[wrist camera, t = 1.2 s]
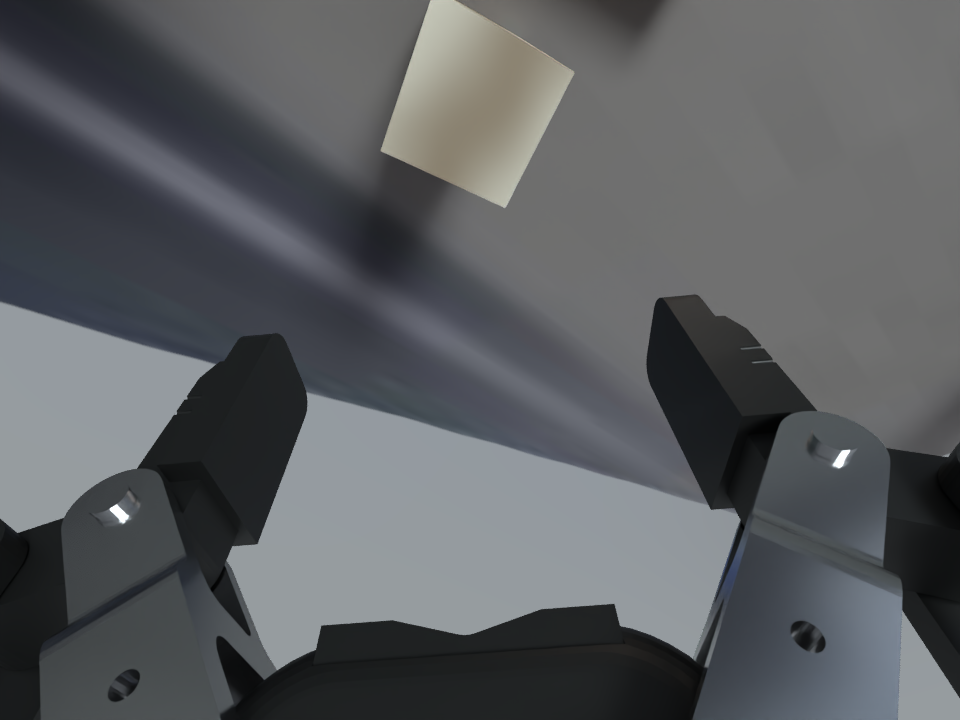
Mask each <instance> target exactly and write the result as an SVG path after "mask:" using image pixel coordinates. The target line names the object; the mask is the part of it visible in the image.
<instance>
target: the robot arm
mask: <svg viewBox="0 0 960 720" xmlns="http://www.w3.org/2000/svg"><path fill="white" fill-rule="evenodd" d="M647 374H648V379H649V382H650V385H651V387H652V389H653V391H654V393H655V395H656V398H657V400H658V402H659V404H660V406H661V408H662V410H663V412H664V414H665V416H666V418H667V420H668V422H669V424H670V426H671V428H672V430H673V433H674V435H675V437H676V439H677V441H678V443H679V445H680V447H681V449H682V451H683V453H684V455H685V457H686V459H687V461H688V463H689V465H690V468H691V470H692V472H693V474H694V476H695V478H696V480H697V482H698V484H699V486H700V488H701V490H702V492H703V494H704V496H705V498H706V500H707V503H708V505H709V507H710V509H711V510H713V509H726V508H735V510H736V512H737V514H738V516H739V518H740V519H741V521H740V523H739V525H738V528H737V530H736V533H735V537H734V539H733V543H732V546H731V549H730V552H729V555H728V558H727V561H726V564H725V567H724V570H723V573H722V576H721V579H720V582H719V585H718V588H717V592H716V595H715V597H714V601H713V604H712V607H711V610H710V613H709V615H708V618H707V621H706V624H705V627H704V629H703V632H702V635H701V637H700V640H699V643H698V645H697V648H696V651H695V654H694V657H693V659H692V658H691V657H690V656H688V655H687V654H685V653H683V652H682V651H680V650H679V649H677V648H675V647H674V646H672V645H670V644H668V643H666V642H664V641H662V640H660V639H657V638H656V637H654V636H651V635H648V634H646V633H643V632H640V631H637V630H634V629H631V628H626V627H621V626H620V625H619V621H618V617H617V613H616V609H615V605H614V604H607V605H594V606H580V607H567V608H553V609H541V610H538V611H535V612H533V613H530V614H527V615H524V616H522V617H519V618H516V619H513V620H511V621H508V622H505V623H502V624H500V625H497V626H494V627H491V628H488V629H486V630H483V631H480V632H477V633H474V634H471V635H458V634H453V633H448V632H444V631H439V630H435V629H430V628H425V627H421V626H416V625H411V624H407V623H402V622H397V621H393V620H392V621H379V622H366V623H352V624H338V625H324V626H321V630H320V635H319V639H318V644H317V648H316V650H315V651H312V652H310V653H307V654H305V655H303V656H301V657H299V658H297V659H295V660H293V661H292V662H290V663H288V664H287V665H285V666H284V667H282V668H281V669H279V670H276V668H275V666H274V665H273V663H272V661H271V660H270V658H269V657H268V655H267V653H266V651H265V649H264V647H263V645H262V643H261V641H260V638H259V636H258V633H257V631H256V628H255V626H254V623H253V621H252V618H251V616H250V613H249V611H248V608H247V606H246V603H245V601H244V598H243V596H242V593H241V591H240V588H239V586H238V583H237V581H236V578H235V576H234V573H233V571H232V568H231V567H230V565H229V564H228V562H227V561H226V559H227V557H228V555H229V552H230V550H231V548H232V546H240V545H254V544H258V541H259V538H260V536H261V533H262V530H263V528H264V525H265V522H266V520H267V517H268V514H269V512H270V509H271V506H272V504H273V501H274V498H275V496H276V493H277V490H278V487H279V485H280V482H281V480H282V477H283V474H284V472H285V469H286V466H287V464H288V461H289V458H290V456H291V453H292V450H293V448H294V445H295V442H296V440H297V437H298V434H299V432H300V429H301V426H302V424H303V421H304V418H305V415H306V412H307V394H306V390H305V387H304V384H303V382H302V379H301V377H300V375H299V372H298V370H297V367H296V365H295V363H294V360H293V358H292V355H291V353H290V351H289V348H288V346H287V343H286V341H285V340H284V338H283V337H282V336H281V335H280V334H278V333H275V334H264V335H254V336H243V337H241V338H240V339H239V340H238V341H237V342H236V344H235V346H234V347H233V349H232V350H231V352H230V353H229V355H228V356H227V358H226V359H225V361H222V362H219V363H218V364H216V365H215V366H214V367H213V368H211V369H210V370H209V371H208V372H206V373H205V374H204V375H203V376H202V377H200V378H199V380H198V381H197V382H196V384H195V386H194V387H193V388H192V390H191V391H190V393H189V394H188V396H187V397H188V399H187V400H184V401H183V403H182V404H181V406H180V407H179V409H178V410H177V415H174V416H173V417H172V419H171V420H170V422H169V423H168V425H167V426H166V427H165V429H164V430H163V432H162V433H161V435H160V436H159V437H158V439H157V440H156V442H155V443H154V445H153V446H152V448H151V449H150V451H149V452H148V453H147V455H146V456H145V458H144V459H143V461H142V462H141V464H140V465H139V467H138V468H137V469H133V470H128V471H124V472H121V473H118V474H116V475H113V476H111V477H109V478H107V479H105V480H103V481H101V482H100V483H98V484H96V485H95V486H94V487H92V488H91V489H89V490H88V491H87V492H85V493H84V494H83V495H82V496H81V497H80V498H79V499H78V500H77V501H76V502H75V503H74V504H73V505H72V506H71V508H70V509H69V510H68V512H67V513H66V516H65V517H64V518H62V519H60V520H56V521H53V522H50V523H48V524H44V525H41V526H38V527H35V528H32V529H29V530H26V531H23V532H20V533H17V532H15V531H14V530H13V529H12V528H11V527H9V526H8V525H7V524H6V523H5V522H3V521H2V520H1V519H0V720H898V698H899V673H900V649H901V647H900V646H901V623H902V611H903V612H904V613H905V615H906V616H907V618H908V620H909V621H910V623H911V624H912V626H913V627H914V629H915V630H916V632H917V633H918V635H919V637H920V638H921V639H922V641H923V642H924V644H925V646H926V647H927V649H928V650H929V652H930V653H931V655H932V656H933V658H934V659H935V661H936V662H937V664H938V666H939V667H940V669H941V670H942V672H943V673H944V675H945V676H946V678H947V679H948V680H949V682H950V684H951V685H952V687H953V688H954V690H955V691H956V693H957V694H958V696H959V698H960V443H959V444H958V445H957V446H956V447H955V449H954V450H953V451H952V453H951V454H950V455H949V457H942V456H935V455H929V454H922V453H915V452H908V451H901V450H895V449H889V448H886V447H885V445H884V444H883V443H882V442H881V441H880V439H879V438H878V437H877V436H875V435H874V434H873V433H872V432H871V431H869V430H868V429H866V428H865V427H863V426H861V425H860V424H858V423H856V422H854V421H852V420H849V419H847V418H844V417H841V416H839V415H835V414H831V413H826V412H820V411H817V410H816V409H815V408H814V406H813V405H812V404H811V403H810V402H809V401H808V399H807V398H806V397H805V396H804V395H803V394H802V392H801V391H800V390H799V389H798V388H797V387H796V385H795V384H794V383H793V382H792V381H791V380H790V378H789V377H788V376H787V375H786V374H785V373H784V371H783V370H782V369H781V368H780V367H779V366H778V364H777V363H776V362H773V361H772V357H771V356H770V355H769V354H768V353H767V352H766V350H765V349H764V348H763V349H761V345H760V343H759V342H758V341H757V340H756V339H755V338H754V337H753V335H752V334H751V333H750V332H749V331H748V330H747V329H746V328H745V327H743V326H741V325H740V324H738V323H736V322H734V321H733V320H731V319H729V318H728V317H726V316H716V317H715V315H714V314H713V313H712V312H711V310H710V309H709V308H708V306H707V305H706V304H705V303H704V301H703V300H702V299H701V298H700V297H699V296H698V295H686V296H675V297H664V298H659V299H658V300H657V301H656V303H655V307H654V313H653V319H652V326H651V333H650V339H649V346H648V352H647Z"/></svg>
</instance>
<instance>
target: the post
mask: <svg viewBox="0 0 960 720" xmlns="http://www.w3.org/2000/svg"><path fill="white" fill-rule="evenodd" d="M574 73H575V72H574V71H572V70H570V69H569V68H567V67H566V66H564V65H562V64H561V63H559V62H558V61H556V60H555V59H553V58H551V57H550V56H548V55H547V54H545V53H543V52H542V51H540V50H539V49H537V48H535V47H534V46H532V45H531V44H529V43H528V42H526V41H524V40H523V39H521V38H520V37H518V36H516V35H514V34H513V33H511V32H509V31H508V30H506V29H504V28H503V27H501V26H499V25H498V24H496V23H494V22H492V21H491V20H489V19H487V18H486V17H484V16H482V15H481V14H479V13H477V12H475V11H474V10H472V9H470V8H469V7H467V6H465V5H464V4H462V3H460V2H459V1H457V0H430V3H429V6H428V9H427V13H426V16H425V19H424V22H423V25H422V28H421V31H420V34H419V37H418V40H417V43H416V46H415V49H414V52H413V55H412V58H411V61H410V64H409V67H408V70H407V73H406V76H405V79H404V82H403V85H402V88H401V91H400V94H399V97H398V100H397V103H396V106H395V109H394V112H393V115H392V118H391V121H390V124H389V127H388V130H387V133H386V136H385V139H384V142H383V145H382V148H381V151H382V152H384V153H386V154H388V155H390V156H393V157H395V158H397V159H399V160H401V161H404V162H406V163H408V164H410V165H412V166H415V167H417V168H419V169H421V170H423V171H425V172H428V173H430V174H432V175H434V176H436V177H439V178H441V179H443V180H445V181H447V182H449V183H452V184H454V185H456V186H458V187H460V188H463V189H465V190H467V191H469V192H471V193H474V194H476V195H478V196H480V197H482V198H484V199H487V200H489V201H491V202H493V203H495V204H498V205H500V206H502V207H504V208H506V206H507V204H508V202H509V200H510V198H511V196H512V194H513V192H514V190H515V188H516V186H517V184H518V182H519V180H520V178H521V176H522V174H523V173H524V171H525V169H526V167H527V165H528V163H529V161H530V159H531V157H532V155H533V153H534V151H535V149H536V147H537V145H538V143H539V141H540V139H541V137H542V135H543V133H544V131H545V129H546V128H547V126H548V124H549V122H550V120H551V118H552V116H553V114H554V112H555V110H556V108H557V106H558V104H559V102H560V100H561V98H562V96H563V94H564V92H565V90H566V88H567V86H568V85H569V83H570V81H571V79H572V77H573V75H574Z"/></svg>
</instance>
